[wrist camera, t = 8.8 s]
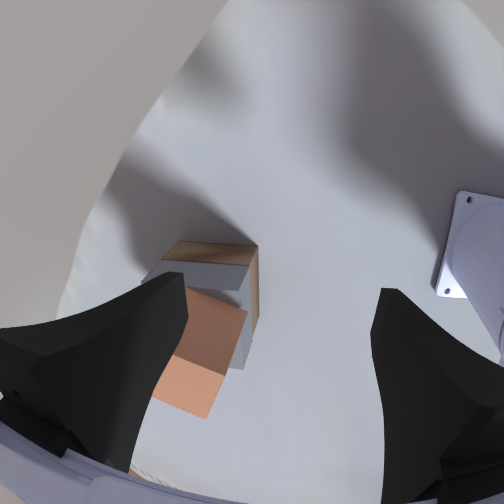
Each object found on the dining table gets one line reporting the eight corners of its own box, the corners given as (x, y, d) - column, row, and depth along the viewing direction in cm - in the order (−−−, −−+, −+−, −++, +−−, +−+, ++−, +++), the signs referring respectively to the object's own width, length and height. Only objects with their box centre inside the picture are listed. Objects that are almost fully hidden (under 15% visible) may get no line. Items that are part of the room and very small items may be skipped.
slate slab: (249, 266, 19) (238, 291, 17) (252, 340, 22) (243, 369, 19) (162, 259, 21) (141, 281, 18) (175, 330, 23) (159, 355, 20)
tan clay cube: (248, 311, 17) (225, 376, 13) (229, 358, 19) (206, 419, 14) (181, 285, 17) (141, 339, 13) (170, 334, 19) (136, 389, 15)
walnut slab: (258, 245, 22) (249, 265, 19) (259, 315, 25) (251, 339, 22) (179, 241, 23) (162, 258, 20) (188, 307, 26) (174, 329, 23)
